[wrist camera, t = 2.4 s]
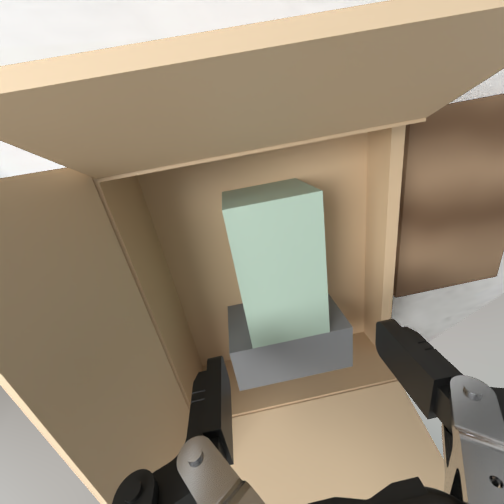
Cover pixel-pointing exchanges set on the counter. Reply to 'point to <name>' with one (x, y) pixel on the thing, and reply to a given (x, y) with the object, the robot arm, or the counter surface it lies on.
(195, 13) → the counter surface
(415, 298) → the counter surface
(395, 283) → the board
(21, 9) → the counter surface
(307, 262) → the box
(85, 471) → the carton
